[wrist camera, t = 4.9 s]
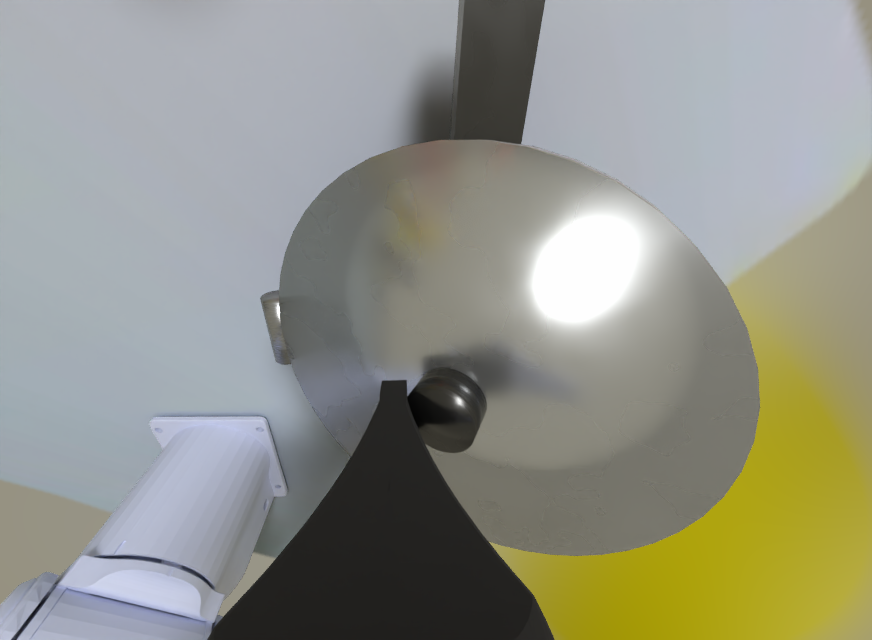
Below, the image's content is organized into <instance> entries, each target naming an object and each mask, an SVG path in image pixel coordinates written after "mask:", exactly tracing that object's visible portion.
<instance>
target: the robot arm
mask: <svg viewBox="0 0 872 640" xmlns="http://www.w3.org/2000/svg"><path fill="white" fill-rule="evenodd" d="M379 397H380V400H379V403H378V405H377V408H376V410H375V412H374V414H373V417H372V419H371V421H370V423H369V425H368V427H367V429H366V431H365V433H364V435H363V437H362V439H361V440H360V442H359V444H358V446H357V448H356V449H355V451H354V453H353V455H352V456H351V458H350V460H349V461H348V463H347V465H346V466H345V468H344V469H343V471H342V473H341V474H340V476H339V477H338V479H337V480H336V482H335V483H334V485H333V486H332V488H331V489H330V491H329V492H328V493H327V495H326V496H325V497H324V499H323V500H322V502H321V503H320V504H319V506H318V507H317V508H316V510H315V511H314V513H313V514H312V515H311V516H310V518H309V519H308V520H307V522H306V523H305V524H304V526H303V527H302V528H301V529H300V531H299V532H298V533H297V534H296V535H295V537H294V538H293V539H292V540H291V541H290V543H289V544H288V545H287V546H286V547H285V549H284V550H283V551H282V552H281V553H280V555H279V556H278V557H277V558H276V559H275V561H274V562H273V563H272V564H271V565H270V566H269V568H268V569H267V570H266V571H265V572H264V574H262V576H261V577H260V578H259V579H258V580H257V581H256V582H255V583H254V584H253V586H251V588H250V589H249V590H248V591H247V592H246V593H245V594H244V595H243V596H242V597H241V598H240V600H238V602H237V603H236V604H235V605H234V606H233V607H232V608H231V609H230V610H229V611H228V612H227V614H226V615H225V616H224V617H222V616H220V615H217V614H218V612H219V609H220V607H221V604H222V602H223V601H224V600H225V599H226V598H227V597H228V596H229V595H230V593H231V592H232V591H233V590H234V589H235V587H236V586H237V585H238V583H239V582H240V580H241V578H242V577H243V575H244V573H245V571H246V569H247V566H248V564H249V561H250V558H251V556H252V553H253V551H254V548H255V546H256V543H257V540H258V538H259V535H260V533H261V530H262V527H263V525H264V522H265V520H266V517H267V514H268V512H269V509H270V507H271V504H272V501H273V499H274V497H283V496H285V495H286V494H287V491H288V489H287V486H286V483H285V479H284V476H283V472H282V469H281V466H280V462H279V459H278V455H277V452H276V449H275V445H274V442H273V439H272V435H271V432H270V428H269V425H268V422H267V420H266V419H265V418H264V417H260V416H229V417H154V418H152V419H151V420H150V421H149V426H150V428H151V429H152V431H153V433H154V435H155V437H156V438H157V440H158V442H159V444H160V445H161V447H162V449H163V450H162V452H161V453H160V454H159V456H158V457H157V458H156V459H155V461H154V462H153V463H152V464H151V466H150V467H149V468H148V469H147V471H146V472H145V473H144V474H143V476H142V477H141V478H140V479H139V481H138V482H137V483H136V485H135V486H134V487H133V488H132V490H131V491H130V492H129V493H128V495H127V496H126V497H125V498H124V500H123V501H122V502H121V503H120V505H119V506H118V507H117V508H116V510H115V511H114V512H113V514H112V515H111V516H110V517H109V519H108V520H107V521H106V522H105V524H104V525H103V526H102V527H101V529H100V530H99V531H98V532H97V534H96V535H95V536H94V538H93V539H92V540H91V541H90V543H89V544H88V545H87V546H86V548H85V549H84V550H83V551H82V553H81V554H80V555H79V556H78V558H77V559H76V560H75V562H74V563H72V564H71V565H70V566H69V567H68V568H67V569H66V570H65V571H64V572H63V573H62V574H61V575H60V576H59V577H58V575H56V574H53V573H50V572H45V573H42V574H41V575H40V576H39V577H37V578H34V579H31V580H29V581H26V582H24V583H22V584H20V585H18V586H17V587H16V588H15V589H14V590H13V592H12V593H11V594H10V595H9V596H8V597H7V598H6V599H5V600H4V601H3V602H2V603H1V605H0V640H554V638H553V635H552V633H551V630H550V628H549V626H548V624H547V621H546V619H545V617H544V615H543V613H542V611H541V609H540V607H539V605H538V603H537V601H536V599H535V597H534V595H533V594H532V593H531V592H530V590H529V589H528V588H527V587H526V586H525V585H524V584H523V583H522V581H521V580H520V579H519V578H518V577H517V576H516V575H515V573H514V572H513V571H512V570H511V569H510V567H509V566H508V565H507V564H506V563H505V562H504V560H503V559H502V558H501V557H500V556H499V555H498V553H497V552H496V551H495V550H494V548H493V547H492V546H491V544H490V543H489V542H488V541H487V539H486V538H485V537H484V536H483V534H482V533H481V532H480V530H479V529H478V527H477V526H476V525H475V523H474V522H473V521H472V519H471V518H470V516H469V515H468V514H467V512H466V511H465V510H464V508H463V507H462V505H461V504H460V503H459V501H458V500H457V498H456V497H455V495H454V493H453V492H452V490H451V489H450V487H449V486H448V484H447V483H446V481H445V479H444V478H443V476H442V474H441V473H440V471H439V469H438V467H437V466H436V464H435V462H434V460H433V458H432V457H431V455H430V453H429V451H428V449H427V447H426V445H425V443H424V441H423V439H422V436H421V434H420V432H419V430H418V427H417V425H416V422H415V420H414V418H413V415H412V412H411V410H410V407H409V404H408V400H407V380H384V381H382V382H381V389H380V396H379ZM57 577H58V578H57Z"/></svg>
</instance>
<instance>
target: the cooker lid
mask: <svg viewBox="0 0 872 640" xmlns="http://www.w3.org/2000/svg"><path fill="white" fill-rule="evenodd" d="M260 299H261V303H262V307H263V311H264V316H265V320H266V324H267V328H268V332H269V336H270V340H271V344H272V348H273V352H274V357H275V360H276V362H277V363H279V364H285V365H286V364H292V367H293V370H294V372H295V375H296V377H297V379H298V381H299V383H300V386H301V388H302V390H303V392H304V394H305V396H306V397H307V399H308V401H309V402H310V404H311V406H312V408H313V409H314V411H315V412H316V414H317V415H318V417H319V418H320V420H321V421H322V423H323V424H324V426H325V427H326V428H327V430H328V431H329V432H330V433H331V435H332V436H333V437H334V438H335V440H336V441H337V442H338V443H339V444H340V445H341V447H342V448H343V449H344V450H345V451H346V452H347V453H348V454H349V455H350V456H352V455H353V453H354V451H355V449H356V448H357V446H358V444H359V442H360V440H361V439H362V437H363V435H364V433H365V431H366V429H367V427H368V425H369V423H370V421H371V419H372V417H373V414H374V412H375V410H376V408H377V405H378V403H379V400H380V397H379V396H380V389H381V382H382V381H384V380H407V400H408V404H409V407H410V410H411V412H412V415H413V418H414V420H415V422H416V425H417V427H418V430H419V432H420V434H421V436H422V439H423V441H424V443H425V445H426V447H427V449H428V451H429V453H430V455H431V457H432V458H433V460H434V462H435V464H436V466H437V467H438V469H439V471H440V473H441V474H442V476H443V478H444V479H445V481H446V483H447V484H448V486H449V487H450V489H451V490H452V492H453V493H454V495H455V497H456V498H457V500H458V501H459V503H460V504H461V505H462V507H463V508H464V510H465V511H466V512H467V514H468V515H469V516H470V518H471V519H472V521H473V522H474V523H475V525H476V526H477V527H478V529H479V530H480V532H481V533H482V534H483V536H484V537H485V538H486V539H487V541H489V542H493V543H495V544H498V545H502V546H506V547H510V548H515V549H519V550H524V551H529V552H536V553H544V554H552V555H570V556H582V555H602V554H609V553H615V552H622V551H627V550H631V549H634V548H638V547H642V546H645V545H649V544H653V543H655V542H657V541H660V540H662V539H664V538H666V537H669V536H671V535H673V534H675V533H677V532H680V531H681V530H683V529H684V528H686V527H687V526H689V525H690V524H692V523H694V522H695V521H697V520H698V519H700V518H701V517H703V516H704V515H705V514H706V513H707V512H708V511H709V510H710V509H711V508H712V507H713V506H714V505H715V504H717V502H719V501H720V500H721V499H722V498H723V497H724V496H725V494H726V493H727V491H728V490H729V489H730V487H731V486H732V484H733V483H734V482H735V480H736V479H737V477H738V476H739V474H740V473H741V472H742V469H743V467H744V464H745V462H746V460H747V457H748V454H749V452H750V450H751V448H752V445H753V443H754V439H755V433H756V427H757V421H758V415H759V409H760V398H759V379H758V367H757V363H756V360H755V356H754V352H753V349H752V345H751V341H750V338H749V334H748V330H747V327H746V325H745V323H744V321H743V319H742V317H741V315H740V313H739V311H738V309H737V307H736V305H735V303H734V301H733V299H732V297H731V295H730V293H729V291H728V289H727V287H726V286H725V284H724V283H723V282H722V280H721V279H720V278H719V276H718V275H717V273H716V272H715V271H714V269H713V268H712V267H711V265H710V264H709V263H708V261H707V260H706V259H705V257H704V256H703V255H702V253H701V252H700V251H699V249H698V248H697V247H696V246H695V245H694V244H693V243H692V242H691V240H690V239H689V238H688V237H687V236H686V235H685V234H684V233H683V232H682V231H681V230H680V229H678V228H677V227H676V226H675V225H674V224H673V223H672V222H671V221H670V220H669V219H668V218H667V217H666V216H665V215H664V214H663V213H662V212H661V211H660V210H659V209H658V208H657V207H656V206H654V205H653V204H652V203H650V202H649V201H647V200H646V199H645V198H643V197H642V196H640V195H639V194H637V193H636V192H634V191H633V190H632V189H630V188H629V187H627V186H626V185H624V184H623V183H621V182H620V181H619V180H617V179H615V178H613V177H611V176H609V175H607V174H605V173H603V172H601V171H599V170H597V169H595V168H593V167H591V166H589V165H587V164H585V163H582V162H580V161H578V160H576V159H573V158H570V157H567V156H564V155H560V154H557V153H554V152H551V151H548V150H544V149H541V148H538V147H535V146H529V145H522V144H515V143H508V142H502V141H495V140H437V141H431V142H425V143H419V144H414V145H408V146H402V147H399V148H396V149H394V150H391V151H388V152H385V153H382V154H380V155H377V156H374V157H371V158H369V159H367V160H365V161H364V162H362V163H360V164H358V165H357V166H355V167H353V168H351V169H350V170H348V171H346V172H344V173H343V174H342V175H340V176H339V177H338V178H337V179H336V180H335V181H333V182H332V183H331V184H330V185H329V186H327V187H326V188H325V189H324V190H323V191H322V192H321V193H320V194H319V195H318V196H317V198H316V199H315V200H314V201H313V202H312V203H311V205H310V206H309V207H308V208H307V209H306V211H305V212H304V214H303V216H302V217H301V219H300V221H299V223H298V224H297V226H296V228H295V230H294V231H293V234H292V236H291V239H290V242H289V244H288V247H287V249H286V252H285V256H284V261H283V265H282V270H281V274H280V287H279V290H277V291H271V292H268V293H266V294H264V295H262V296H261V298H260Z"/></svg>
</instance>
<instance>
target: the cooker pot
mask: <svg viewBox="0 0 872 640" xmlns="http://www.w3.org/2000/svg"><path fill="white" fill-rule="evenodd" d="M544 4H545V0H459V10H458V25H457V39H456V54H455V68H454V83H453V97H452V112H451V127H450V140H495V141H502V142H508V143H515V144H521V141H522V135H523V129H524V123H525V117H526V111H527V105H528V99H529V94H530V88H531V82H532V76H533V70H534V64H535V58H536V52H537V46H538V40H539V34H540V28H541V22H542V16H543V10H544Z"/></svg>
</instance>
